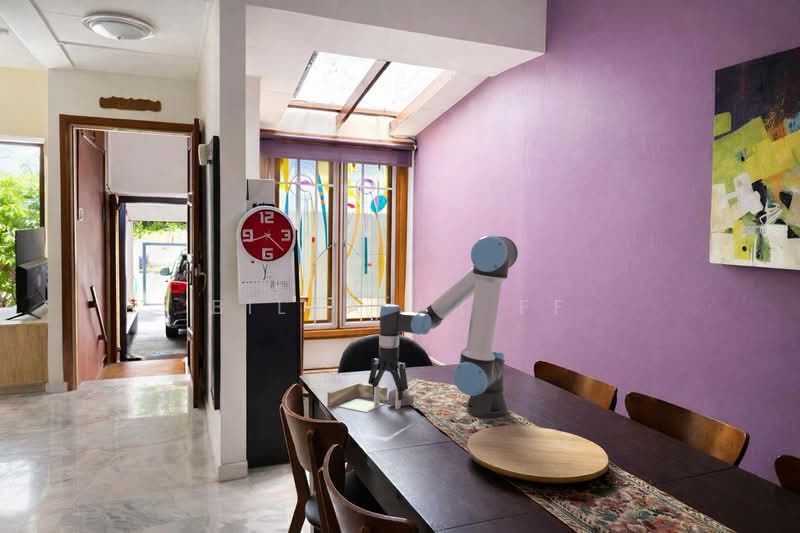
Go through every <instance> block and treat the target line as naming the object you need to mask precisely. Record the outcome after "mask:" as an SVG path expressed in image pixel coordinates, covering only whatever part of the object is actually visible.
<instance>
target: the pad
mask: <svg viewBox="0 0 800 533" xmlns="http://www.w3.org/2000/svg"><path fill="white" fill-rule="evenodd" d="M384 405H385V403H381V402H379V403H378V404H376V405H375V404H374V401H372V400H371V401H370V400H366V399H361V398H355V399H352V400H350V401H349V400H348V401H347V402H344V403H342V404H339V405H337V408H341V409H345V410H346V409H347V410H351V411H357V412H361V413H367V414H368V413H369V412H371V411H373V410H376V409H378V408H380V407H381V406H384Z"/></svg>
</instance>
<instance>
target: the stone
mask: <svg viewBox="0 0 800 533" xmlns="http://www.w3.org/2000/svg"><path fill="white" fill-rule="evenodd" d="M396 391H398V390H397V388H396V389H392V390H390V391H389V393H388V395H387V402H386V403H387V404H386V405H387V406H391V407H395V401H396ZM414 400H415V396H414V395H412V394H410V393H409V392H408V389H407V390H405V391H403V399H402V400H401V407H402V406H403V407H405V406H412V405H413V404H414Z"/></svg>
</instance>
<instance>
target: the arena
mask: <svg viewBox="0 0 800 533" xmlns="http://www.w3.org/2000/svg"><path fill="white" fill-rule="evenodd" d="M379 386H380V400H379V401H382V402H385V401H388V387H387V386H383V385H379ZM356 397H361V398H367V399H371V400H374V395H373V386H372V385H371V384H369V383H365V382H352V383H349V384H347V385H344V386H341V387H339V388H336V389H333V390H330V391H328V392H327V406H330V407H333V406H335V405H338V404H341V403H343V402H346V401H349V400H351V399H353V398H356Z"/></svg>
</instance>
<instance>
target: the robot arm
mask: <svg viewBox="0 0 800 533" xmlns="http://www.w3.org/2000/svg"><path fill="white" fill-rule="evenodd" d="M518 255H519V251H518V246H517V245H516V243H515V242H514V241H513V240H512V239H510V238H509V237H506V236H496V235H486V236H483V237H481V238H479V239H478V240H477V241H476V242H474V244H473V245H472V248H471V251H470V259H471V262H472V264H473V266H472V267H471V268H470V269H469V270H468V271H466V273H465V274H463V275H462V276H461V277H460V278H458V280H457V281H455V282H454V283H453V284H452V285H451V286H450V287H449V288H448V289H446V290H445V291H444V292H443V293H441V295H439V296H438V297H437V298H436V299H435V300H434V301H433V302H432V303H430V304H429V305H428V306H427V307H425V309H423V310H418V311H413V312H412V311H411V312H410V311H409V312H408V311H402V310H401V306H400V305H398V304H383V305H381V306H380V309H379V310H380V312H379V335H378V338H379V339H378V340H379V341H378V345H379V346H378V357H377V358H376V357H375V358H372V359H371V369H370V373H369V378H368V381H367V382H368V383H367V384H371V385H372V386H373V395H374V399H373V402H374V404H375V405H376V404H378V403H380V401H381V400H380V386H381V385H380V381H381V380H382V378H383V376H384V373H385V372H390V374H391V376H392V378H393V381H394V384H395V387H396V389H397V390H398V391H396V401H395V406H394V408H395V409H394V410H398V409H400V408H401V407H402V406H401V400H402V399H403V391H405V390H407V391H408V389H409V386H408V379H407V372H406V367H407V364H406V362H400V360H399V357H400V347H399V346H400V335H401V333H407V334H415V335H427V334H429V332H431V329H435V328H437V327H439V326H440V325H441V324H442V322H443V320H444V319H445V318H447V317H448V316H449V315H450V314H452V313H453V312H454V311H455V310H456V309H457V308H459V307H460V306H461V305H462V304H463V303H465V301H467V300H468V299H470V297H472V295H473V299H472V304H471V312H470V313H471V314H470V319H469V320H470V321H469V327H468V334H467V340H466V347H465V348H464V349H461V352H460V356H459V364H457V365H456V367H455V369H454V371H453V374H452V376H453V381H454V385H455V387H456V388H457V389H458V390H459V391H460V392H461V393H462V394H464V395H466V396H469V397H468V401H467V403H466V413H467V414H469V415H470V416H473V417H476V418H482V419H500V418H503V417H505V416H508V414H509V405H508V403H507V402H508V401H507V399H506V396H505V395H506V394H505V391H504V390H505V362H506V360H505V354H504V353H503V352H502V351H501V350H500V351H499V350H492V348H493V344H494V343H493V342H494V336H495V332H496V323H497V318H498V317H497V316H498V310H499V305H500V304H499V302H500V297H501V292H502V291H501V288H502V284H503V282H504V281H506V280H507V279H508V274H509V269H510V268H511V267H513V266H514V264H515V263H516V262H517V259H518ZM378 367H379V368H378Z"/></svg>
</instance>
